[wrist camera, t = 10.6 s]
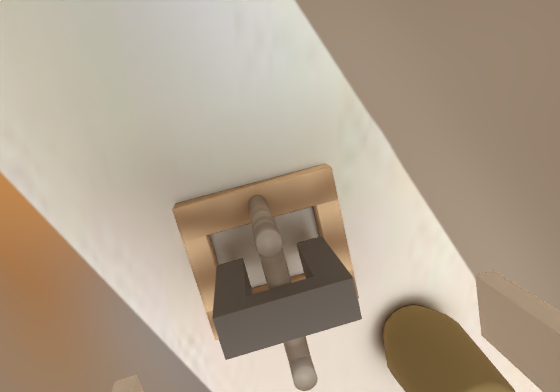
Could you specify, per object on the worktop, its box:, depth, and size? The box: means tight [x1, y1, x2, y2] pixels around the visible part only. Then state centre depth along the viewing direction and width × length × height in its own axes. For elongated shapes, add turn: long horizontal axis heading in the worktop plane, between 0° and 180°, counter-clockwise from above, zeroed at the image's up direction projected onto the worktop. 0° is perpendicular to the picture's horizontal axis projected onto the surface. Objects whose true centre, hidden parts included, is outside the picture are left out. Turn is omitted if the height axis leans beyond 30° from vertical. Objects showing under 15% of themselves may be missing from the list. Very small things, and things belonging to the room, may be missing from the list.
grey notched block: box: [212, 236, 362, 360], centre depth 27 cm, size 9×3×8 cm, turn 104°
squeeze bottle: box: [383, 305, 515, 392], centre depth 30 cm, size 8×8×18 cm
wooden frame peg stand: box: [172, 164, 359, 391], centre depth 29 cm, size 13×14×12 cm
